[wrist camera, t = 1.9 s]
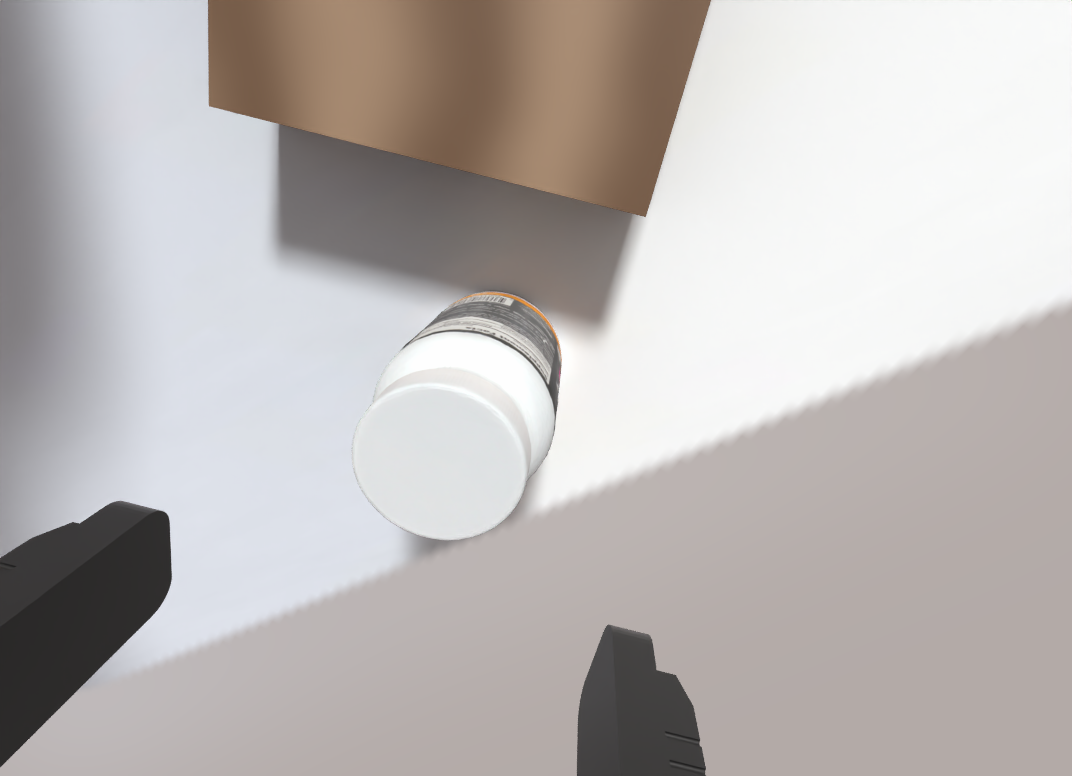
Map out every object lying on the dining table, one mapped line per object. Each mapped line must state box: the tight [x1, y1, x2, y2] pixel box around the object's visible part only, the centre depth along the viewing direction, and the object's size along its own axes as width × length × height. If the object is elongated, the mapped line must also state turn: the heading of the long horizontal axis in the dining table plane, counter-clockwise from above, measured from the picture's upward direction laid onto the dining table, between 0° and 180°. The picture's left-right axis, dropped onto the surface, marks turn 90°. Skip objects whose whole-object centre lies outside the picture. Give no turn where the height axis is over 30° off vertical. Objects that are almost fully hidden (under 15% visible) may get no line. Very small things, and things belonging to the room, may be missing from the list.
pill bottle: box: [352, 291, 562, 540], centre depth 18 cm, size 6×6×10 cm
